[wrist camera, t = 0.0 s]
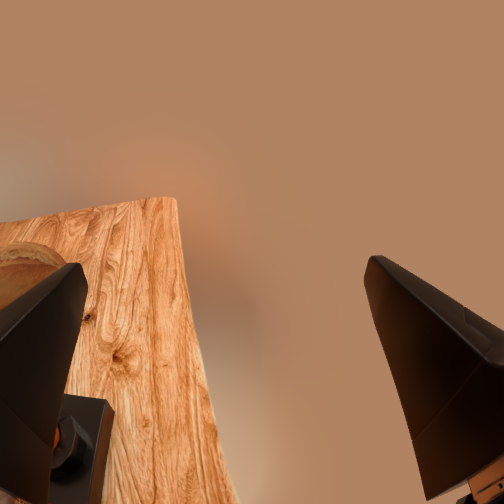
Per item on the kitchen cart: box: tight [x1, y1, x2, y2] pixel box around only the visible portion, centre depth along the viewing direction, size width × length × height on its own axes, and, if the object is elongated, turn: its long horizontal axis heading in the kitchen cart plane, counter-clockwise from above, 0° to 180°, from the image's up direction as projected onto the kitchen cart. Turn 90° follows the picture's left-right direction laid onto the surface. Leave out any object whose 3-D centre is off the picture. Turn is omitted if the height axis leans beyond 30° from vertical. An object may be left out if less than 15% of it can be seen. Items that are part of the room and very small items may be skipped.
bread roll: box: [0, 242, 67, 310], centre depth 30 cm, size 10×15×8 cm, turn 121°
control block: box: [48, 394, 115, 504], centre depth 17 cm, size 10×8×4 cm
